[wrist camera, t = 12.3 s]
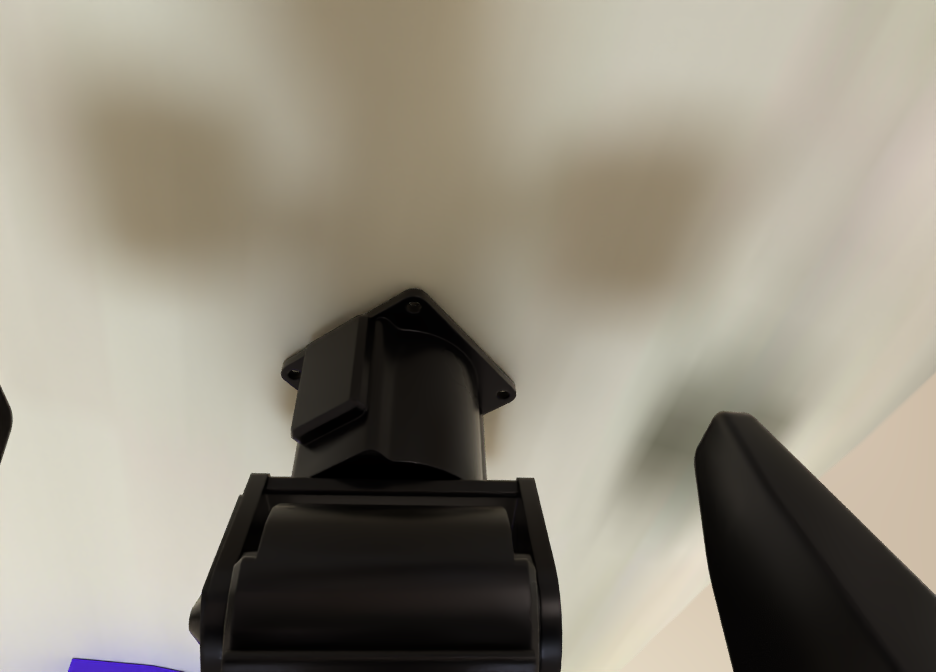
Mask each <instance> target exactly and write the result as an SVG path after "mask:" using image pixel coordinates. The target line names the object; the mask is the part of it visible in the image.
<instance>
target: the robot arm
mask: <svg viewBox="0 0 936 672" xmlns="http://www.w3.org/2000/svg"><path fill="white" fill-rule="evenodd" d="M410 302H418V303H419V305H411V304H409V303H410ZM292 370H297V371H299V372H294V371H292ZM281 376H282V378H283V379H284V380H285V381H286V382H287V383H289V384H290V385H291V386H293V387H294V388H295V389H297V390H298V394H297V400H296V405H295V410H294V416H293V421H292V426H291V438H293V439H294V440H295V441H297V442H298V443H297V448H296V454H295V460H294V465H293V471H292V477H271V476H270V474H266V473H251V475H250V477H249V480H248V483H247V485H246V488H245V490H244V493H243V495H240V496H239V497H238V500H237V503H236V505H235V508H234V510H233V513H232V515H231V518H230V520H229V523H228V525H227V528H226V531H225V533H224V536H223V538H222V541H221V543H220V546H219V548H218V551H217V553H216V556H215V558H214V561H213V564H212V566H211V569H210V571H209V574H208V576H207V579H206V581H205V584H204V586H203V590H202V594H201V596H200V597H199V599H198V600H197V602H196V603H195V605H194V607H193V608H192V610H191V613H190V618H189V631H190V633H191V634H192V635H193V637H194V638H195V639H196V640H197V642H198V643H199V644H200V663H201V672H560V671H561V659H562V614H561V602H560V592H559V584H558V577H557V572H556V567H555V563H554V559H553V554H552V550H551V546H550V542H549V538H548V534H547V530H546V525H545V521H544V517H543V513H542V509H541V505H540V500H539V496H538V492H537V488H536V484H535V480H534V478H516V480H487V474H486V458H485V441H484V424H483V415H484V414H486V413H488V412H491V411H493V410H495V409H497V408H499V407H501V406H503V405H505V404H507V403H509V402H511V401H513V400H514V399H515V397H516V388H515V384H514V382H513V381H512V380H511V379H510V378H509V377H508V376H507V375H506V374H505V373H504V372H503V371H502V370H501V369H500V368H499V367H498V366H497V365H496V364H495V363H494V362H493V361H492V360H491V359H490V358H489V357H488V356H487V355H486V354H485V353H484V352H483V351H482V350H481V349H480V348H479V347H478V346H477V344H476V343H475V342H474V341H473V340H472V339H471V338H470V337H469V336H468V335H467V334H466V333H465V332H464V331H463V330H462V329H461V328H460V327H459V326H458V325H457V324H456V323H455V322H454V321H453V320H452V319H451V318H450V317H449V316H448V315H447V314H446V313H445V312H444V311H443V310H442V309H441V308H440V307H439V306H438V305H437V304H436V303H435V302H434V301H433V300H432V299H431V298H430V297H429V295H428V294H427V293H425V292H424V291H422V290H420V289H408V290H406V291H404V292H402V293H400V294H399V295H397V296H395V297H393V298H392V299H390V300H388V301H387V302H385V303H383V304H381V305H380V306H378V307H376V308H375V309H373V310H371V311H369V312H368V313H366V314H364V315H358V316H356V317H354V318H353V319H351V320H349V321H348V322H346V323H344V324H342V325H341V326H339V327H337V328H336V329H334V330H332V331H330V332H329V333H327V334H325V335H324V336H322V337H320V338H318V339H317V340H315V341H313V342H311V343H310V344H308V345H307V347H306V349H304V350H302V351H300V352H299V353H297V354H295V355H294V356H292V357H290V358H288V359H287V360H286V361H285V362H284V363H283V366H282V371H281ZM499 391H504V392H499ZM12 422H13V416H12V411H11V408H10V405H9V403H8V401H7V399H6V397H5V394H4V392H3V390H2V388H1V386H0V463H1V460H2V457H3V454H4V451H5V448H6V445H7V441H8V438H9V435H10V432H11V428H12ZM694 468H695V475H696V483H697V490H698V498H699V505H700V513H701V520H702V528H703V535H704V543H705V551H706V557H707V563H708V570H709V574H710V579H711V583H712V588H713V592H714V596H715V600H716V604H717V607H718V612H719V615H720V620H721V624H722V628H723V632H724V636H725V640H726V643H727V648H728V652H729V655H730V660H731V664H732V667H733V672H936V595H935V594H934V593H933V592H932V591H931V590H930V589H929V588H928V587H927V586H926V585H925V584H924V583H923V582H922V581H921V580H920V579H919V578H918V577H917V576H916V575H915V574H914V573H913V572H912V571H911V570H910V569H908V567H907V566H906V565H904V564H903V563H902V562H901V561H900V560H899V559H898V558H897V557H896V556H895V555H894V554H893V553H892V552H891V551H890V550H889V549H888V548H887V547H886V546H885V545H884V544H883V543H882V542H881V541H880V540H879V539H878V538H877V537H876V536H875V535H874V534H873V533H872V532H871V531H870V530H869V529H868V528H867V527H866V526H865V525H864V524H863V523H862V522H861V521H860V520H859V519H858V518H857V517H856V516H855V515H854V514H853V513H851V511H850V510H849V509H847V508H846V507H845V506H844V505H843V504H842V503H841V502H840V501H839V500H838V499H837V498H836V497H835V496H834V495H833V494H832V493H831V492H830V491H829V490H828V489H827V488H826V487H825V486H824V485H823V484H822V483H821V482H820V481H819V480H818V479H817V478H816V477H815V476H814V475H813V474H812V473H811V472H810V471H809V470H808V469H807V468H806V467H805V466H804V465H803V464H802V463H801V462H800V461H799V460H798V459H797V458H796V457H795V456H793V455H792V454H791V453H790V452H789V451H788V450H787V449H786V448H785V447H784V446H783V445H782V444H781V443H780V442H779V441H778V440H777V439H776V438H775V437H774V436H773V435H772V434H771V433H770V432H769V431H768V430H767V429H766V428H765V427H764V426H763V425H762V424H761V423H760V422H759V421H758V420H757V419H756V418H755V417H753V416H752V415H750V414H748V413H745V412H731V411H721V412H719V413H717V414H716V415H715V416H714V417H713V419H712V421H711V423H710V424H709V426H708V428H707V430H706V432H705V434H704V435H703V437H702V439H701V441H700V443H699V445H698V446H697V449H696V452H695V457H694Z"/></svg>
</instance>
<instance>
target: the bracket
mask: <svg viewBox="0 0 936 672" xmlns="http://www.w3.org/2000/svg"><path fill="white" fill-rule="evenodd" d="M68 672H179V671H174V670H170V669H165V668H160V667H155V666H147V665H136V664H126V663H115V662H104V661H93V660H82V659H72V662H71V664H70V667H69V670H68Z"/></svg>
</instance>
